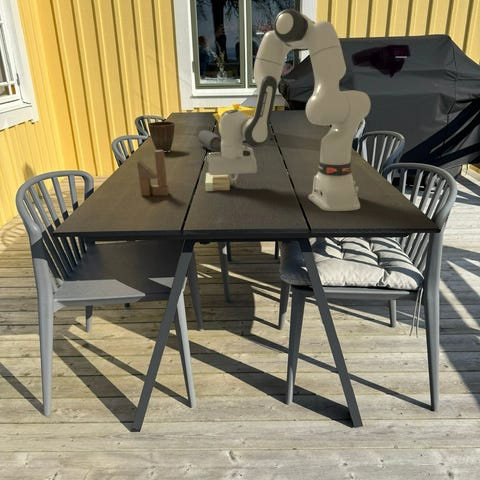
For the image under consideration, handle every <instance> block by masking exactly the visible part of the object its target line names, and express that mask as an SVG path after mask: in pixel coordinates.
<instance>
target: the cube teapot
mask: <svg viewBox="0 0 480 480" xmlns="http://www.w3.org/2000/svg"><path fill="white" fill-rule="evenodd" d="M234 109H237V110H239V111H240V112H242V113H244V114H246V115H248V116H252V117H254V114H255V109H256V108H252V107H247V106H243V105H240V103H232V106H228V107H226V106H225V107H218V108H217V112H216V113H213V114H212V115H213V117H214V118H215V119H216V121H217V122H218V132H219V133H220V117H221V115H222V113H224V112H225V111H228V110H234Z"/></svg>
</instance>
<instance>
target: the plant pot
mask: <svg viewBox="0 0 480 480" xmlns="http://www.w3.org/2000/svg"><path fill="white" fill-rule="evenodd" d="M147 126H148V132H149V136H150V138H151V141H152V143H153V146H154V148H155V151H156V150H163V151H169V150H170V151H172V146H173V141H174V137H175V136H174V135H175V129H176V128H175V122H174V121H153V122H149V123H147Z"/></svg>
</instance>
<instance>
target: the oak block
mask: <svg viewBox="0 0 480 480" xmlns="http://www.w3.org/2000/svg"><path fill="white" fill-rule="evenodd" d="M212 181H213V191H230V189H231V188H230V186H231V185H230V184H231V180H230V179H229V177H228V174H224V175H213V180H212Z"/></svg>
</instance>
